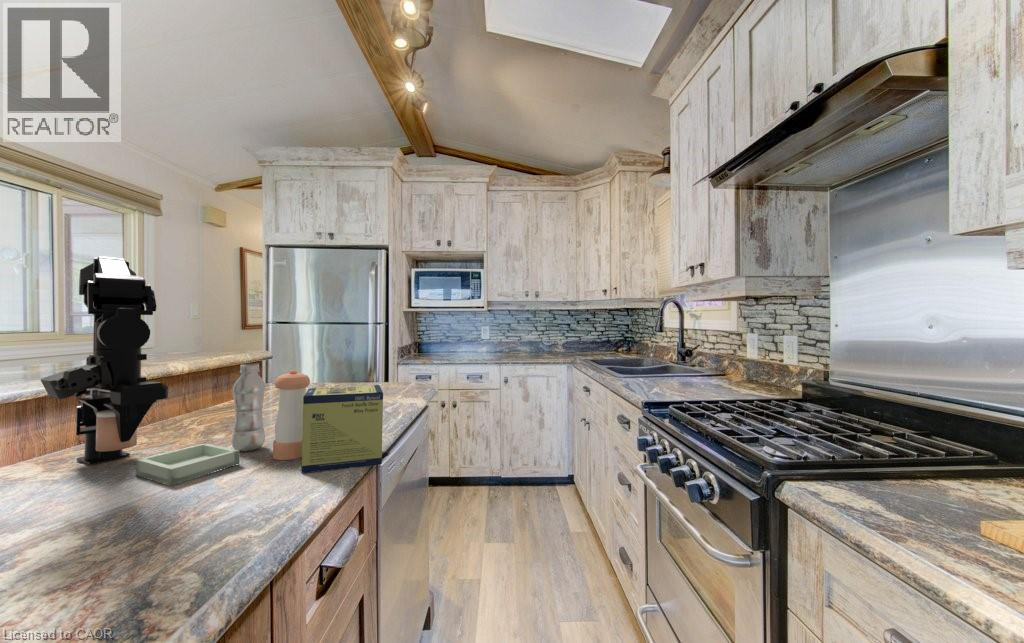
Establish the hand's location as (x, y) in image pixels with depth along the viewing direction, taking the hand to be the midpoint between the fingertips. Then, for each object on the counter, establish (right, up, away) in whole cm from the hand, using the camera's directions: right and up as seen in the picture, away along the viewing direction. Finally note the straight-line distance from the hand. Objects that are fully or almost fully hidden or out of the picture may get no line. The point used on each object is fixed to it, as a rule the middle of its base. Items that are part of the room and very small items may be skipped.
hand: (116, 439), depth 68 cm
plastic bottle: (+6, -10, +24) cm, 27 cm away
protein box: (+31, -10, +18) cm, 37 cm away
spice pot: (0, -1, 0) cm, 1 cm away
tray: (+3, -10, +12) cm, 15 cm away
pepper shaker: (+18, -10, +21) cm, 30 cm away
